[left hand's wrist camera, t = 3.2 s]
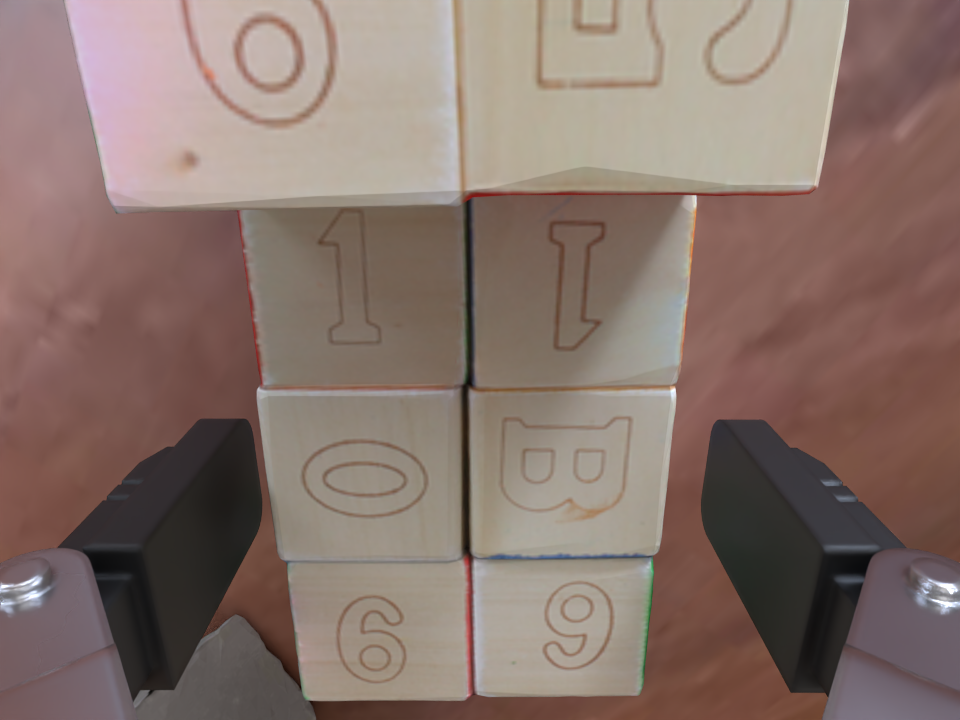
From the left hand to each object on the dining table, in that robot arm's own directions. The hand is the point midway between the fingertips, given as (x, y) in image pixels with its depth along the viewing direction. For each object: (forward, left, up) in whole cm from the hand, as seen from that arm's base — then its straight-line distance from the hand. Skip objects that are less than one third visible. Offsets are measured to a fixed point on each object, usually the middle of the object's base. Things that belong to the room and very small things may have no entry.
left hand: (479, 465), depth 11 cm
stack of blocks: (+4, +5, -8) cm, 10 cm away
